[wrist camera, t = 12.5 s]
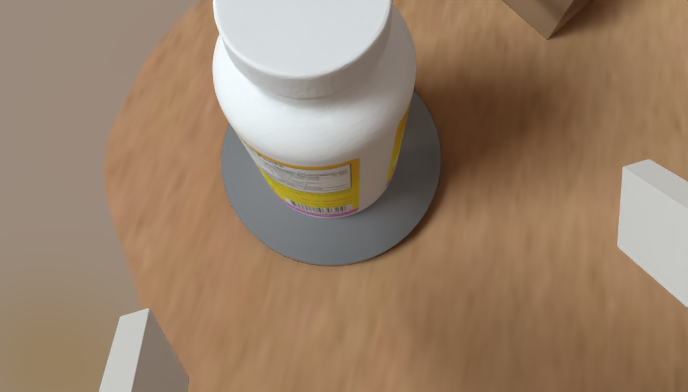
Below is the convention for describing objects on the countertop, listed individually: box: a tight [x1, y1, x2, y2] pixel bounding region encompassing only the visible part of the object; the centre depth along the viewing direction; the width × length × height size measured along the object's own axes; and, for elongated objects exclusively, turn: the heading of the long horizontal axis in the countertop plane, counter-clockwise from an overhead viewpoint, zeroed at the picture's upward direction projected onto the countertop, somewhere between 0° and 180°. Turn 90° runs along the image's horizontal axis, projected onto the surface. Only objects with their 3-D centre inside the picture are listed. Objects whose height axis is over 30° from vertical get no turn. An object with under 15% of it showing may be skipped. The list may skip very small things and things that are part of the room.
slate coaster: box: [222, 90, 441, 266], centre depth 26 cm, size 11×11×1 cm
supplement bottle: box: [213, 0, 416, 218], centre depth 19 cm, size 7×7×13 cm
